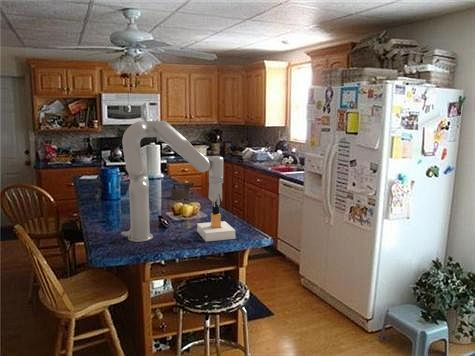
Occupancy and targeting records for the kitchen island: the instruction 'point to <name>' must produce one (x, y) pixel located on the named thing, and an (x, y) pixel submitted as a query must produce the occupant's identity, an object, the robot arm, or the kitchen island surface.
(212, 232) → the socket block
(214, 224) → the plug
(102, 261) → the kitchen island surface
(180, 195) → the clothes iron
